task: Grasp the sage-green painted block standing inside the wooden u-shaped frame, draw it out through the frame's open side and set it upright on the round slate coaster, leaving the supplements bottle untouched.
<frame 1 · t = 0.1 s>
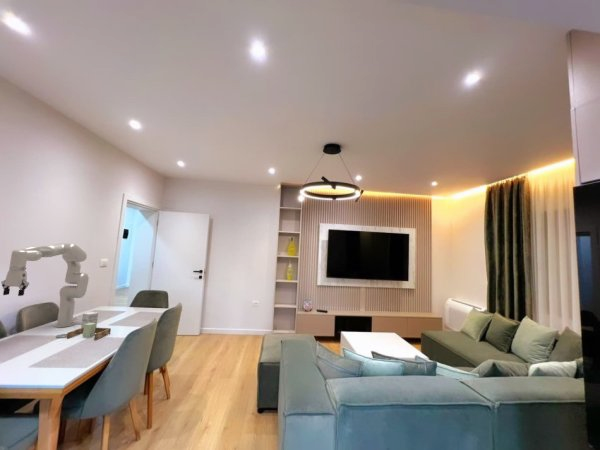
hand: (13, 295, 180), 31 cm above the table, fingers open, 9 cm apart
wooden u-shaped frame: (88, 336, 201), on the table
sage block: (89, 330, 201), in the wooden u-shaped frame
supplement box: (88, 329, 216), on the table
slate coaster: (63, 336, 198), on the table
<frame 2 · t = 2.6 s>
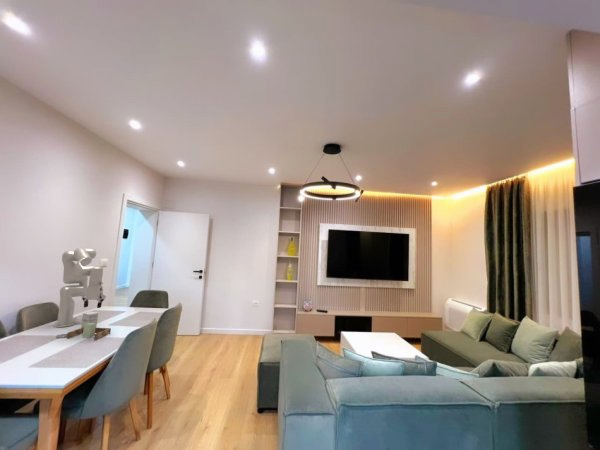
hand: (92, 307, 202), 21 cm above the table, fingers open, 9 cm apart
nothing on the table moved.
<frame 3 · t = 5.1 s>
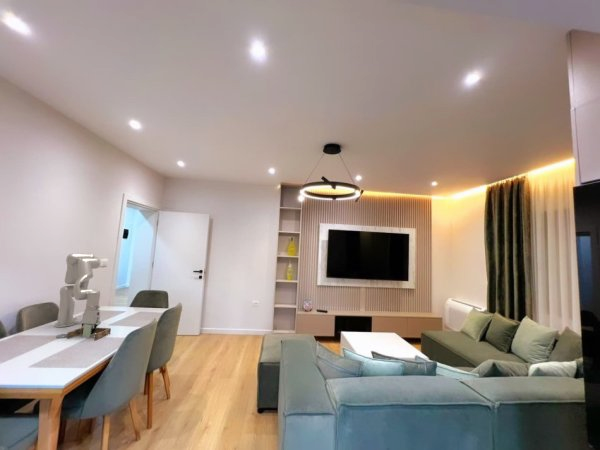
hand: (89, 332, 201), 2 cm above the table, fingers closed on sage block, 5 cm apart
sage block: (89, 330, 201), in the wooden u-shaped frame, touching gripper
everything else where it was.
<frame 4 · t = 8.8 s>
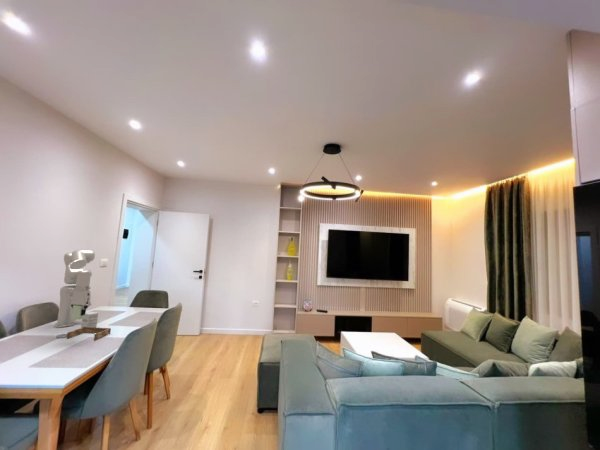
hand: (78, 314, 191), 18 cm above the table, fingers closed on sage block, 5 cm apart
sage block: (79, 311, 191), point 20 cm above the table, touching gripper
everything else where it was.
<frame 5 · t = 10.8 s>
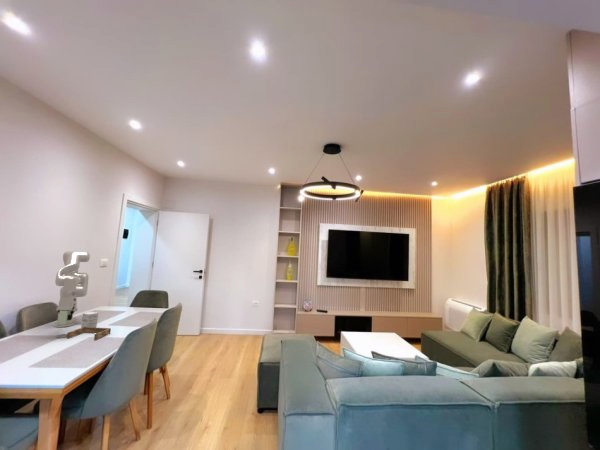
hand: (65, 319, 198), 12 cm above the table, fingers closed on sage block, 5 cm apart
sage block: (65, 316, 198), point 14 cm above the table, touching gripper
everything else where it was.
when the fingers open (4 cm above the table, at t = 12.4 s): sage block stays where it is, resting on slate coaster.
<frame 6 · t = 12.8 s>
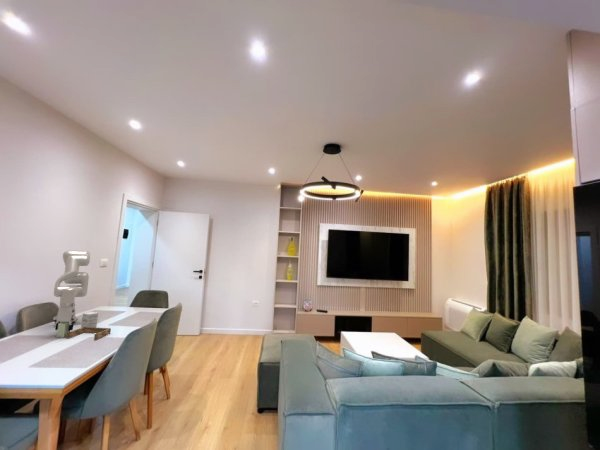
hand: (64, 329, 198), 5 cm above the table, fingers open, 8 cm apart
sage block: (64, 329, 198), on the slate coaster, point 5 cm above the table
everything else where it was.
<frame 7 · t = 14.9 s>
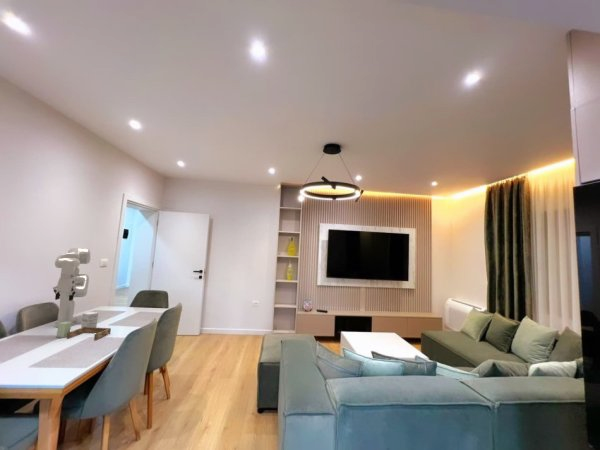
hand: (64, 299, 201), 25 cm above the table, fingers open, 9 cm apart
nothing on the table moved.
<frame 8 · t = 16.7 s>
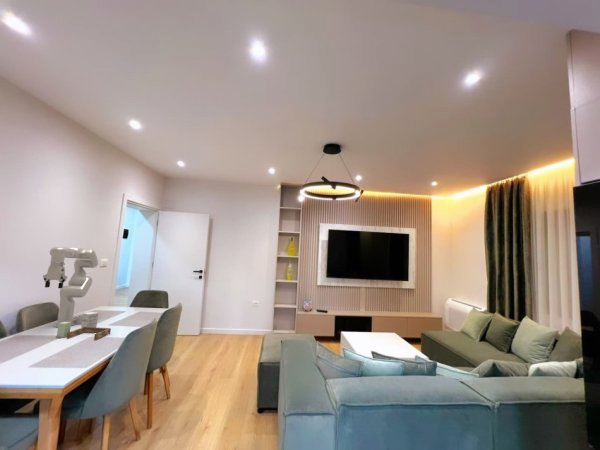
hand: (53, 287, 203), 33 cm above the table, fingers open, 9 cm apart
nothing on the table moved.
at the end: sage block 0.1 cm from the slate coaster (horizontally); sage block tilted 0°; sage block point 5.1 cm above the table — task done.
